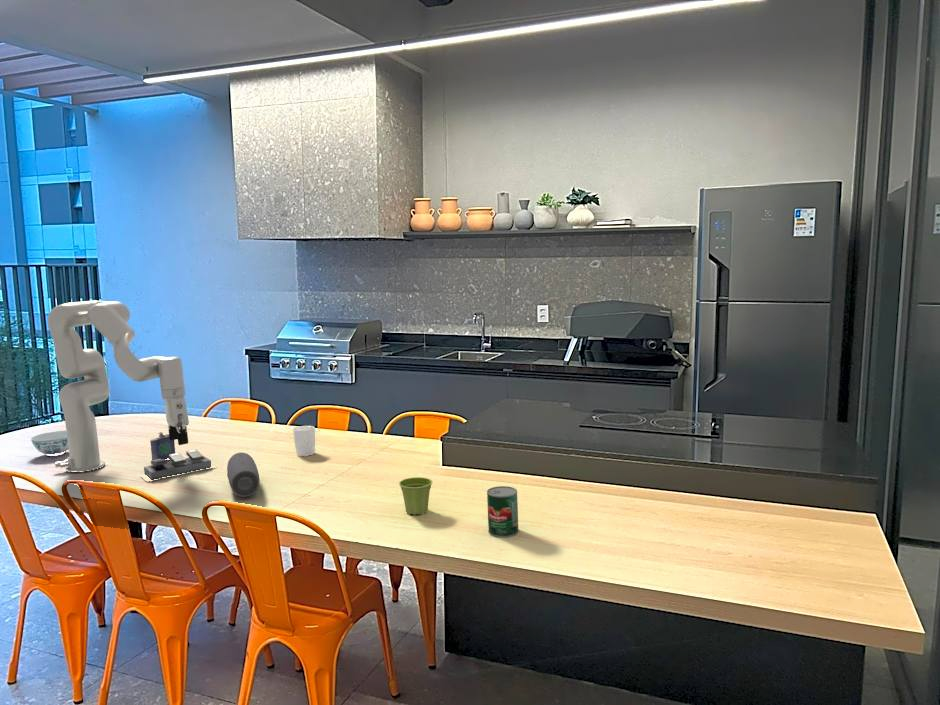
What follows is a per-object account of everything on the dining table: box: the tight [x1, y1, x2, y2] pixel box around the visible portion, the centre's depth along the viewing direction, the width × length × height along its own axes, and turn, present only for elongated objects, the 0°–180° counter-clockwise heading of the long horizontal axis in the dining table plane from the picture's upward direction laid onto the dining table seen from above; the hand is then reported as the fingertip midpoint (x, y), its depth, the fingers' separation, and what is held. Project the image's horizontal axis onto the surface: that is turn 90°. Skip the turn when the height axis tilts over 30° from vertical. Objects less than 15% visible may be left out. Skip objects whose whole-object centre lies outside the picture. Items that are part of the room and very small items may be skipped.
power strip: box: [143, 455, 212, 480], centre depth 249 cm, size 23×10×3 cm, turn 129°
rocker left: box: [150, 459, 169, 466], centre depth 245 cm, size 4×7×1 cm, turn 39°
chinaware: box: [30, 430, 69, 455], centre depth 278 cm, size 15×15×8 cm
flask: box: [149, 431, 176, 461], centre depth 264 cm, size 9×3×11 cm, turn 146°
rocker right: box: [185, 449, 204, 461], centre depth 253 cm, size 4×7×1 cm, turn 39°
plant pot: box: [398, 476, 433, 516], centre depth 202 cm, size 9×9×9 cm
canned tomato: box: [486, 485, 520, 538], centre depth 185 cm, size 8×8×11 cm
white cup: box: [292, 425, 316, 457], centre depth 266 cm, size 8×8×10 cm
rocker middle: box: [169, 452, 186, 465], centre depth 249 cm, size 4×7×1 cm, turn 39°
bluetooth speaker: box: [226, 452, 260, 498], centre depth 227 cm, size 23×9×10 cm, turn 21°
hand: (179, 441), depth 246 cm, fingers open, 9 cm apart
